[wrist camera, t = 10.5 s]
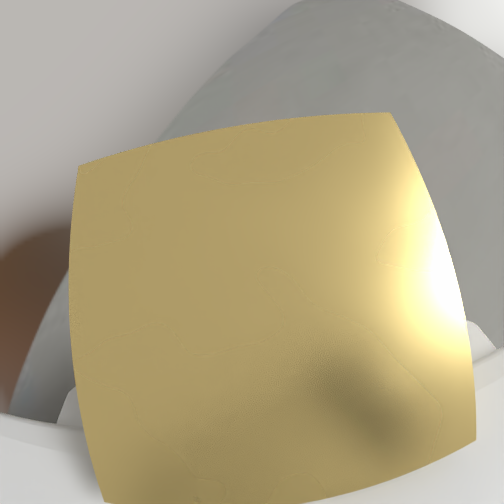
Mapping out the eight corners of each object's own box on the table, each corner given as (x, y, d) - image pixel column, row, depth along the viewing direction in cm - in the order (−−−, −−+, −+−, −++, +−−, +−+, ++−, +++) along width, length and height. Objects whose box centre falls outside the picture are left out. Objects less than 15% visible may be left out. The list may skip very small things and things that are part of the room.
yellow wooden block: (235, 383, 16) (103, 501, 2) (223, 306, 17) (78, 165, 4) (314, 370, 16) (476, 440, 2) (301, 293, 17) (390, 112, 4)
